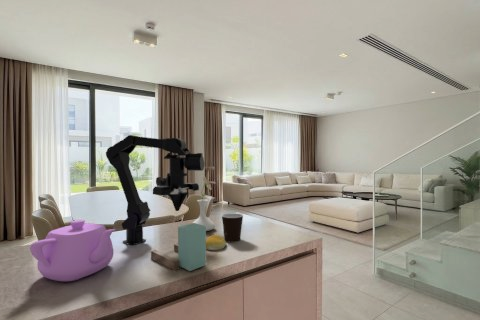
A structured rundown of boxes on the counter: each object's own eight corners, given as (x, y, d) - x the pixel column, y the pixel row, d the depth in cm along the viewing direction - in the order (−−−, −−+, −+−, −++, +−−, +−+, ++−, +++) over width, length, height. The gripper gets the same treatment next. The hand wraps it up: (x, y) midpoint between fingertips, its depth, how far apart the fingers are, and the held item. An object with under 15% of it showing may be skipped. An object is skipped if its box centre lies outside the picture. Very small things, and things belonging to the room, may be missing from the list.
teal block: (178, 265, 80) (178, 226, 80) (193, 259, 84) (193, 222, 84) (189, 271, 76) (189, 230, 76) (205, 264, 80) (205, 226, 80)
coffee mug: (238, 244, 101) (238, 218, 101) (218, 241, 104) (218, 216, 104) (247, 235, 112) (247, 212, 112) (229, 233, 115) (229, 211, 115)
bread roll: (200, 250, 95) (200, 239, 95) (207, 242, 104) (207, 232, 104) (222, 251, 93) (222, 240, 93) (228, 243, 102) (228, 233, 102)
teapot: (11, 285, 68) (10, 228, 68) (84, 257, 88) (84, 212, 88) (71, 303, 60) (70, 238, 60) (137, 267, 80) (137, 218, 80)
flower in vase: (213, 233, 115) (213, 177, 115) (187, 233, 115) (187, 177, 115) (216, 225, 128) (216, 175, 128) (193, 225, 128) (193, 175, 128)
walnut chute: (151, 258, 87) (150, 250, 87) (177, 250, 95) (177, 243, 95) (174, 270, 77) (174, 262, 77) (201, 260, 85) (201, 252, 85)
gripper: (180, 169, 113) (181, 205, 113) (143, 171, 98) (143, 212, 98) (199, 169, 107) (199, 207, 107) (162, 172, 91) (162, 216, 91)
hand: (177, 210), depth 101 cm, fingers closed
